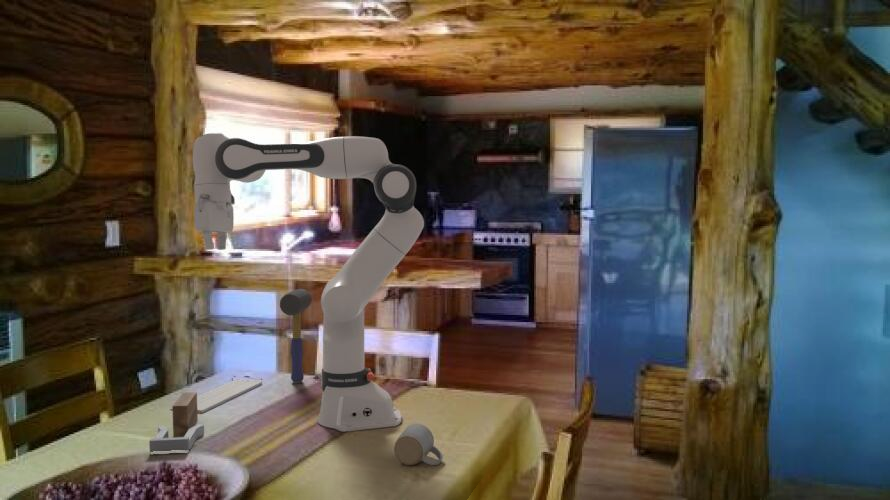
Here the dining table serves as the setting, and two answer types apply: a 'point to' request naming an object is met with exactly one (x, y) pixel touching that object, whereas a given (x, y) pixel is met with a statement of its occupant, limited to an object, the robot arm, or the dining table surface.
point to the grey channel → (175, 439)
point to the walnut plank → (184, 413)
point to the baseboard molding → (224, 393)
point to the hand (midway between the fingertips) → (215, 249)
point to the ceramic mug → (416, 446)
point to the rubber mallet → (296, 327)
